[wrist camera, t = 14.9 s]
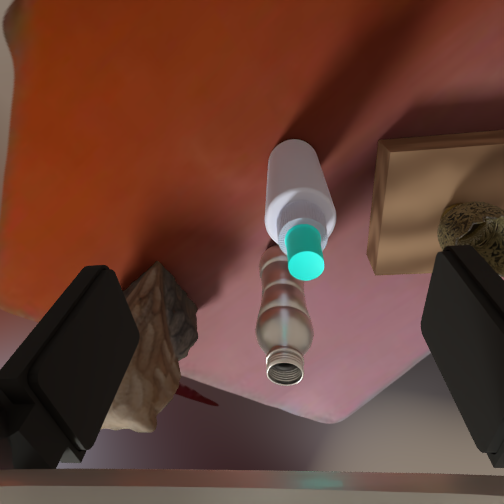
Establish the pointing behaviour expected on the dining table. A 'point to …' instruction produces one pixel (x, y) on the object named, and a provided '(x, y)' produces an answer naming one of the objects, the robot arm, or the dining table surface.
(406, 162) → the walnut plinth
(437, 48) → the dining table surface
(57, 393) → the robot arm
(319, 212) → the spray bottle
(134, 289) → the brown rock
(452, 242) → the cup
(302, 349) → the plastic bottle
